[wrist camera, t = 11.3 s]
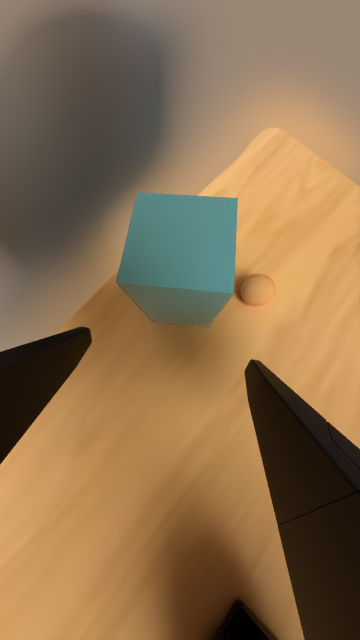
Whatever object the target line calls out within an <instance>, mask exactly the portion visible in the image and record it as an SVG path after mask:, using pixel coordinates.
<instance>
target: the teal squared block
mask: <svg viewBox="0 0 360 640" xmlns="http://www.w3.org/2000/svg"><path fill="white" fill-rule="evenodd" d="M237 202H238V198H224V197H207V196H190V195H172V194H154V193H137V196H136V200H135V204H134V208H133V213H132V217H131V221H130V225H129V230H128V234H127V238H126V243H125V247H124V251H123V256H122V260H121V264H120V268H119V272H118V277H117V281H116V283H117V284H118V285H119V286H120V287H121V288H122V289H123V290H124V292H125V293H126V294H127V295H128V296H129V297H130V298H131V299H132V300H133V301H134V302H135V303H136V305H137V306H138V307H139V308H140V309H141V310H142V311H143V312H144V313H145V314H146V315H147V316H148V318H149V319H150V320H151V321H157V322H166V323H175V324H184V325H194V326H203V327H209V326H210V324H211V323H212V322H213V320H214V319H215V318H216V316H217V315H218V314H219V312H220V311H221V310H222V309H223V307H224V306H225V305H226V303H227V302H228V301H229V299H230V298H231V297H232V295H233V294H234V278H235V253H236V227H237Z"/></svg>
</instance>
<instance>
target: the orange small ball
mask: <svg viewBox="0 0 360 640" xmlns="http://www.w3.org/2000/svg"><path fill="white" fill-rule="evenodd" d="M275 292H276V286H275V283H274V281H273V280H272V279H271V278H270V277H268V276H266V275H263V274H257V275H253V276H250V277H249V278H247V279H246V280H245V281H244V282H243V284H242V286H241V290H240V293H241V297H242V299H243V300H244V302H245V303H247V304H249V305H251V306H262V305H265V304H267V303H268V302H270V301H271V300H272V298H273V297H274V295H275Z"/></svg>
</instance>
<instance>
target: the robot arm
mask: <svg viewBox="0 0 360 640" xmlns="http://www.w3.org/2000/svg"><path fill="white" fill-rule="evenodd" d="M91 342H92V339H91V332H90V329H89V328H86V327H79V328H75V329H72V330H69V331H66V332H63V333H59V334H56V335H53V336H50V337H47V338H44V339H40V340H37V341H34V342H31V343H27V344H24V345H21V346H18V347H15V348H12V349H9V350H5V351H2V352H0V464H1V463H2V462H3V460H4V459H5V458H6V457H7V455H8V454H9V453H10V451H11V450H12V449H13V448H14V446H15V445H16V444H17V442H18V441H19V440H20V439H21V437H22V436H23V435H24V433H25V432H26V431H27V430H28V428H29V427H30V426H31V425H32V423H33V422H34V421H35V419H36V418H37V417H38V416H39V414H40V413H41V412H42V410H43V409H44V408H45V407H46V405H47V404H48V403H49V401H50V400H51V399H52V398H53V396H54V395H55V394H56V392H57V391H58V390H59V389H60V387H61V386H62V385H63V383H64V382H65V381H66V380H67V378H68V377H69V376H70V375H71V373H72V372H73V371H74V369H75V368H76V367H77V365H78V364H79V362H80V360H81V359H82V357H83V356H84V354H85V352H86V351H87V349H88V348H89V346H90V344H91ZM245 380H246V388H247V396H248V402H249V407H250V411H251V415H252V419H253V423H254V428H255V432H256V436H257V440H258V445H259V449H260V453H261V457H262V461H263V466H264V470H265V474H266V478H267V482H268V487H269V491H270V495H271V499H272V504H273V508H274V512H275V516H276V520H277V524H278V529H279V534H280V538H281V542H282V546H283V550H284V555H285V559H286V563H287V567H288V572H289V576H290V580H291V584H292V588H293V593H294V597H295V601H296V605H297V609H298V614H299V618H300V622H301V626H302V630H303V635H304V639H305V640H360V449H359V448H358V447H357V446H355V445H354V444H353V443H352V442H351V441H350V440H348V439H347V438H346V437H345V436H344V435H343V434H341V433H340V432H339V431H338V430H337V429H336V428H335V427H334V426H332V425H331V424H330V423H329V422H327V421H326V419H324V418H323V417H322V416H321V415H320V414H319V413H318V412H317V411H315V410H314V409H313V408H312V407H311V406H310V405H309V404H308V403H306V402H305V401H304V400H303V399H302V398H301V397H300V396H299V395H297V394H296V393H295V392H294V391H293V390H292V389H291V388H290V387H288V386H287V385H286V384H285V383H284V382H283V381H282V380H280V379H279V378H278V377H277V376H276V375H275V374H274V373H273V372H271V371H270V370H269V369H268V368H267V367H266V366H265V365H264V364H262V363H261V362H260V361H258V360H253V359H252V360H250V362H249V363H248V365H247V367H246V369H245ZM240 613H242V614H240ZM213 640H275V639H274V638H273V637H272V636H271V634H270V633H269V632H268V631H267V630H266V629H265V627H264V626H263V625H262V624H261V623H260V622H259V621H258V619H257V618H256V617H255V616H254V615H253V614H252V612H251V611H250V610H249V609H248V608H247V607H246V606H245V604H244V603H243V602H241V601H236V602H235V603H234V605H233V606H232V608H231V610H230V612H229V613H228V615H227V617H226V619H225V620H224V622H223V624H222V625H221V627H220V629H219V631H218V632H217V634H216V636H215V638H214V639H213Z"/></svg>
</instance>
